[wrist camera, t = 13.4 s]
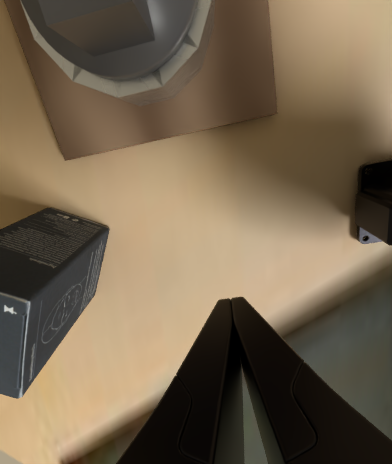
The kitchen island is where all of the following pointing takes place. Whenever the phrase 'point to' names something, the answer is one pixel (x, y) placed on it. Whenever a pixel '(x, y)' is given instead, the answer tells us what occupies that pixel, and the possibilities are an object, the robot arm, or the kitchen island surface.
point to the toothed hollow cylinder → (158, 82)
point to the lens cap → (113, 33)
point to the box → (43, 289)
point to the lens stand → (168, 111)
